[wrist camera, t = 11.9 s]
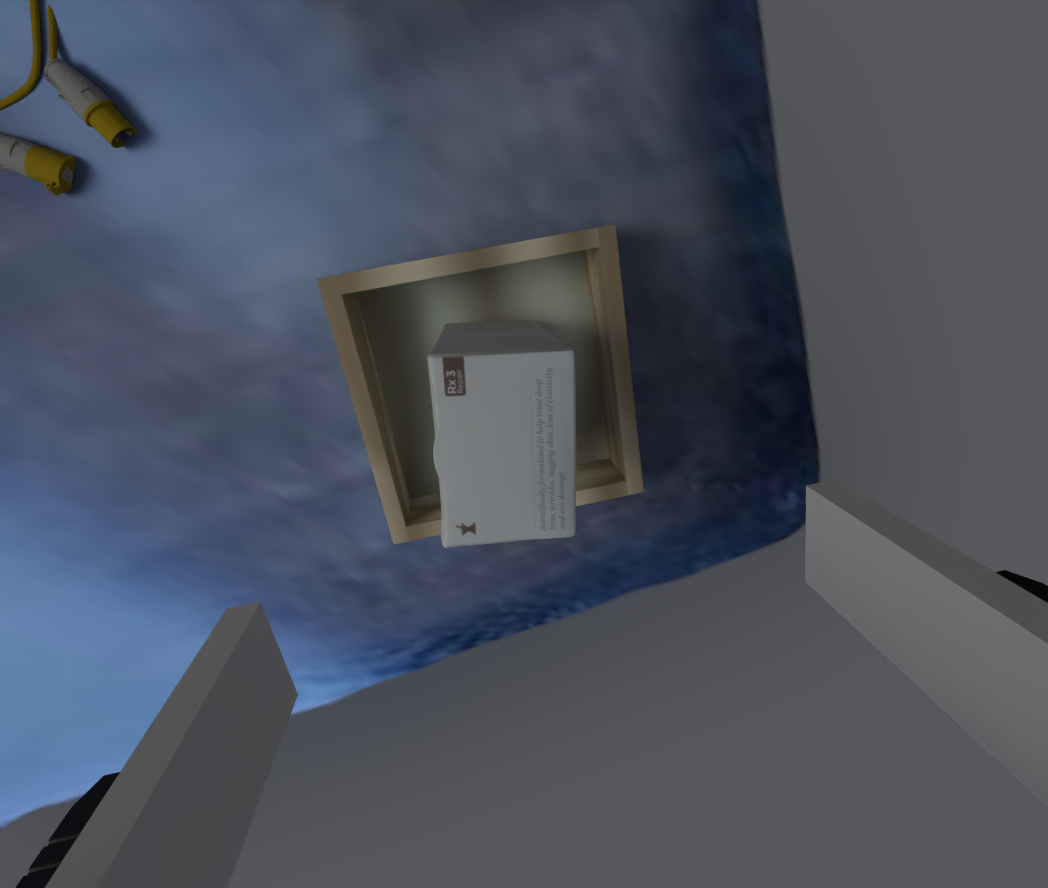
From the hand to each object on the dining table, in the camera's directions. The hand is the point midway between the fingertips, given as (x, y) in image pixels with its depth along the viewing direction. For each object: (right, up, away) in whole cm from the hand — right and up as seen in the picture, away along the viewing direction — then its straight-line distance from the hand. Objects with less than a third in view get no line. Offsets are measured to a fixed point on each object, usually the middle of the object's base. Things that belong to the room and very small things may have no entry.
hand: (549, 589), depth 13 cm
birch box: (-3, +8, +23) cm, 25 cm away
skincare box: (-3, +8, +23) cm, 24 cm away
